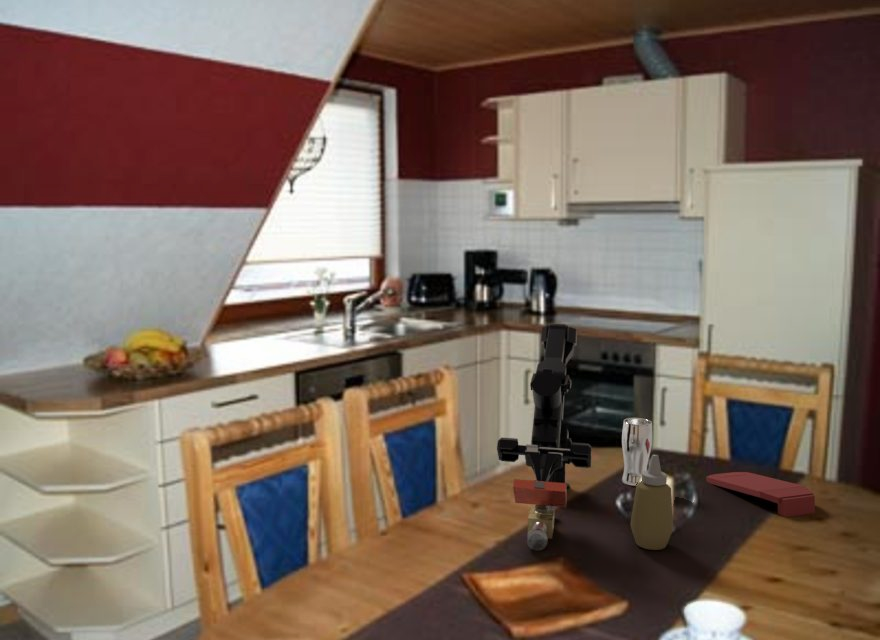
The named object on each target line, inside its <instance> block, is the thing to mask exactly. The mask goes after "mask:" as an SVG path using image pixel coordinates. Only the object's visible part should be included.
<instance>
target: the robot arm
mask: <svg viewBox="0 0 880 640" xmlns="http://www.w3.org/2000/svg"><path fill="white" fill-rule="evenodd" d="M540 334H541V335H540V336H541V337H540V343H541V345H543V349H544V357H543V360H542V361H540V362H539V363H538V364H537V366H536V370H535V372H534V373H532V377H531V380H530V385H529V386H530V387H529V388H530V391H532V398H533V400H532V401H533V403H534V410H533V413H534V414H533V421H532V431H531V440H530V444H526V445H523V444H519V439H518V438H515V437H502V436H501V437H500V438H499V439H498V440H497V446H496V451H497V456H498V460H499V461H501V462H508V463H509V462H510V463H515V462H516V461H518V460H519V457H520V456H524V460H525V465H526V466H527V467H529V468H530V467H531V469H532V472H533V473H534V477H535V480H533V481H544V482H556V483H566V489H569V488H571V485H570V484H568V483H567V482H566V464H567V465H570V464H572V465H573V466H574V467H575V468H583V469H584V468H585V469H589V468H591V467H592V446H591V445H590V443H585V442H573V441H572V438H571V437H570V438H569V429H568V427H567V425H566V424H565V422H564V407H565V406H564V405H565V394H566V393H568V392H569V390H570V391H571V388H572V380H571V377H570V374H567V364H568V362H569V361H570V359H571V358H572V357H573V356H574V349H575V347H576V346H577V344H578V342H577V341H578V330H577V329H576V328H575V327H573V326H569V325H568V324H565V323H549V324H546V326H543V327H541V333H540Z"/></svg>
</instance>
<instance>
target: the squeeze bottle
mask: <svg viewBox="0 0 880 640" xmlns="http://www.w3.org/2000/svg"><path fill="white" fill-rule="evenodd" d="M667 478H668V475H667V474H666V473H665V472H663V471H662V468H661V464H660V458H659V454H651V457H650V462H649V465H648V467H647V470H646V471H643V472H642V481H641V482H639V483H638V484H637V485H636V486H635V492H634V499H633V506H632V510H631V518H630V524H629V526H630V528H631V531H632V534H633V538H634V542H635V545H637V546H638V547H640V548H643V549H645V550H651V551H652V550H653V551H654V550H655V551H658V550H663V549H666V547H667V545H668V543H669V540H670V538H671V536H672V533H673V531H674V517H673V502H672V499H673V498H672V488H671V486H670V485H669V484H668V483H667V481H668V479H667Z"/></svg>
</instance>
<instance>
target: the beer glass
mask: <svg viewBox="0 0 880 640" xmlns="http://www.w3.org/2000/svg"><path fill="white" fill-rule="evenodd" d="M622 424H623V425H622V431H621V432H622V433H621V446H622V447H621V448H622V456H623V465H624V468H623V473H622V478H621V482H622V483H623V484H625V485H628V486H630V487H632V486H633V487H636V484H637V482H638V479H639V477H641V476H642V472H643V471H646V470H648V464H649V460H650V454H651V451H652V446H653V445H652V443H653V422H652V420H649V419H646V418H641V417H627V418H625V419H623V423H622Z"/></svg>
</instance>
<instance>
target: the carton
mask: <svg viewBox="0 0 880 640" xmlns="http://www.w3.org/2000/svg"><path fill="white" fill-rule="evenodd" d="M705 479H706V483H708V484H711V485H715V486H718V487H721V488H725V489H728V490H732V491H735V492H739V493H742V494H745V495H750V496H753V497H756V498H760V499H762V500H766V501H769V502H772V503H775V504H776V505H777V515H779V516H782V517H783V518H787V517H795V516H801V515H802V516H803V515H810V513H811V514H815V513H816V507H815V506H816V502H815V494H814V492H813V491H811V489H809V488H808V487H807V486H805V485H801V484H798V483H794V482H789V481H785V480H781V479H777V478H774V477H773V478H772V477H770V476H764V475H761V474H757V473H752V472H749V471H732V472H723V473H714V474H710V475H708V476H706V477H705Z"/></svg>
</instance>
